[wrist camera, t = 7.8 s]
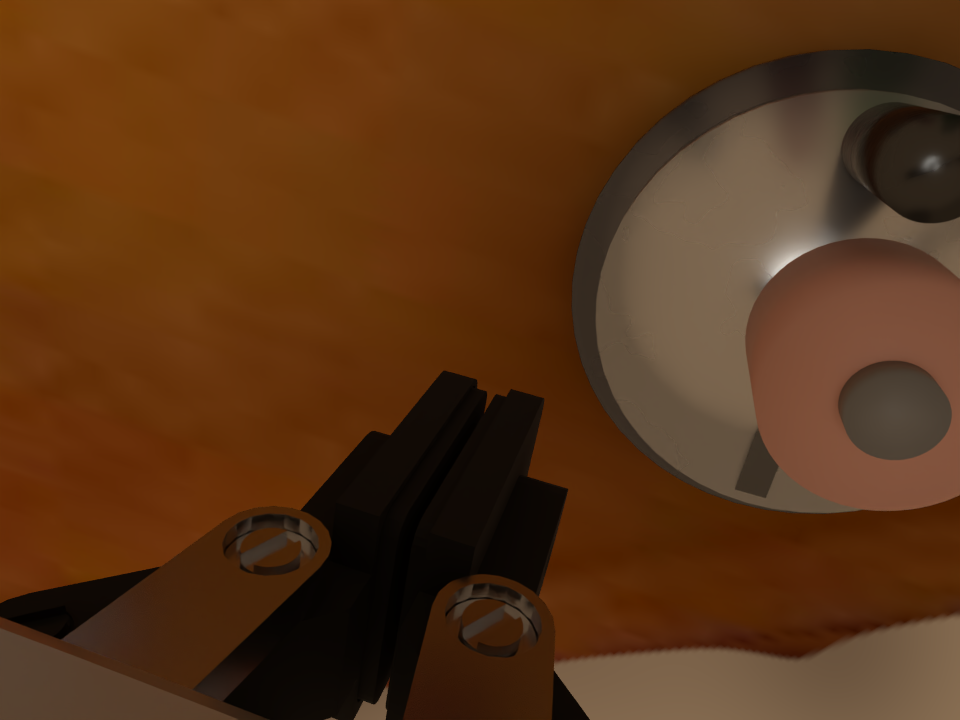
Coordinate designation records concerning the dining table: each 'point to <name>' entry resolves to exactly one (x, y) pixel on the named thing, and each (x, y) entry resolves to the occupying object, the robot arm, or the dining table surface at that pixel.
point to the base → (691, 121)
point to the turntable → (758, 262)
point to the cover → (861, 374)
